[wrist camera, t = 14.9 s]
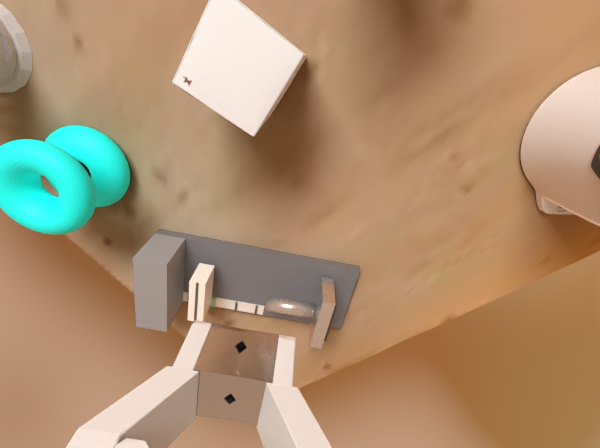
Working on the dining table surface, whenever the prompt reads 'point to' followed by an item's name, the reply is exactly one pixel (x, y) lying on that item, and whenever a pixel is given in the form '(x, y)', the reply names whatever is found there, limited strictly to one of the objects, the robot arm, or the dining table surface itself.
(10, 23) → the french press
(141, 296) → the frame
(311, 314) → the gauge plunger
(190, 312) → the gauge pointer
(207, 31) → the supplement box
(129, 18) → the dining table surface
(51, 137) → the donuts
